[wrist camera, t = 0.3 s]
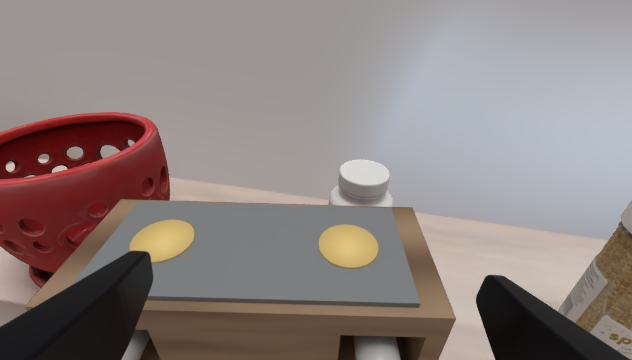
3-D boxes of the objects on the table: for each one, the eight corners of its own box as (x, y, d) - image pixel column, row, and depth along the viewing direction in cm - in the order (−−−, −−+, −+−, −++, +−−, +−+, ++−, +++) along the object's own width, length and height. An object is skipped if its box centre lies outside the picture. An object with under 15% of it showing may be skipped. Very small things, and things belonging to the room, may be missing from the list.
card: (418, 307, 14) (421, 301, 14) (66, 297, 14) (62, 291, 14) (390, 211, 20) (391, 205, 20) (140, 204, 20) (138, 198, 20)
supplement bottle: (369, 290, 27) (385, 198, 22) (315, 265, 29) (318, 176, 24) (390, 251, 31) (407, 165, 26) (340, 232, 33) (348, 149, 28)
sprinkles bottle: (592, 406, 20) (754, 255, 13) (523, 344, 24) (622, 196, 16) (626, 371, 22) (785, 222, 15) (558, 318, 25) (660, 175, 18)
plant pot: (208, 218, 35) (187, 113, 28) (127, 327, 24) (62, 198, 17) (103, 202, 37) (61, 101, 30) (-17, 296, 26) (-123, 170, 19)
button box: (413, 417, 19) (456, 318, 14) (101, 409, 19) (24, 306, 14) (389, 304, 26) (412, 207, 21) (158, 297, 26) (121, 199, 21)
